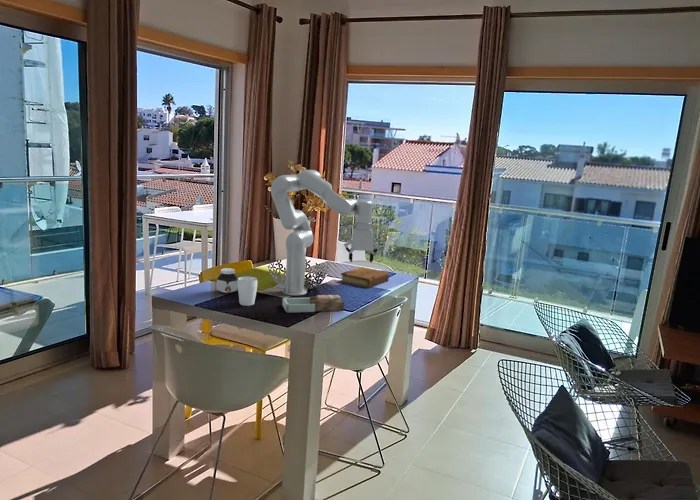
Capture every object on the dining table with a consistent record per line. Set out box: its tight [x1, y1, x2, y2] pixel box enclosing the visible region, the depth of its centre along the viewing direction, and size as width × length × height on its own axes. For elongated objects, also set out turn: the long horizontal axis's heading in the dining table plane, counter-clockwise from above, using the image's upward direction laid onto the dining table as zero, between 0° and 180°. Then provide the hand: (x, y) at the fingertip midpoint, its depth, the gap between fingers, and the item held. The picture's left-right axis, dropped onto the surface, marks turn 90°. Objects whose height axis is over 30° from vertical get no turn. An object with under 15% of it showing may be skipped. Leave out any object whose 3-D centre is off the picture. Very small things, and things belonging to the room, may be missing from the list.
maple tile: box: [327, 294, 342, 301], centre depth 252 cm, size 5×5×2 cm
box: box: [281, 297, 316, 313], centre depth 247 cm, size 13×11×4 cm
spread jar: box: [216, 267, 239, 295], centre depth 266 cm, size 12×11×12 cm
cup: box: [237, 276, 258, 307], centre depth 248 cm, size 9×9×12 cm
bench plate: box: [309, 296, 345, 312], centre depth 251 cm, size 14×9×4 cm, turn 107°
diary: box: [340, 266, 390, 289], centre depth 307 cm, size 23×19×6 cm
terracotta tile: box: [316, 294, 330, 302], centre depth 250 cm, size 5×5×2 cm
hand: (360, 261), depth 258 cm, fingers open, 9 cm apart
